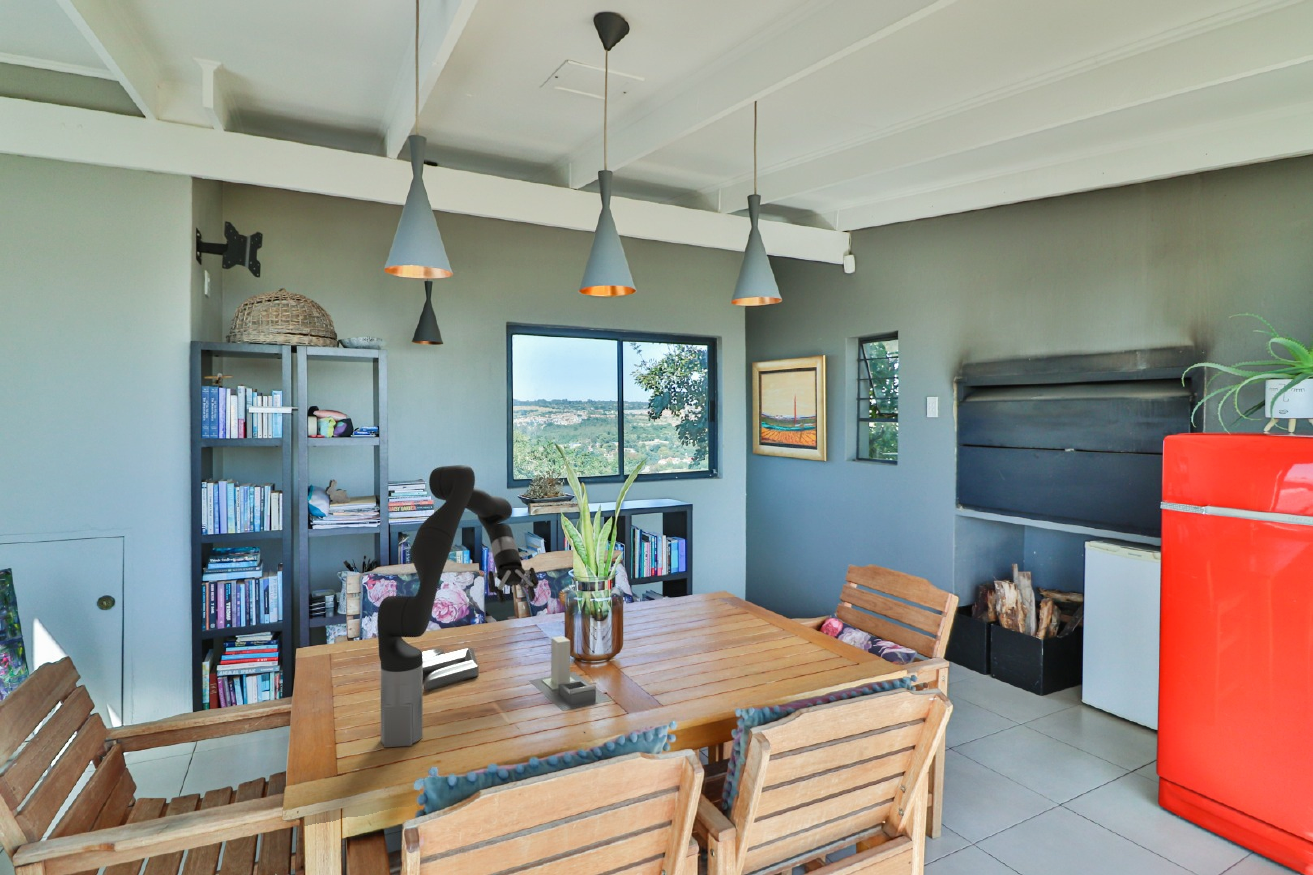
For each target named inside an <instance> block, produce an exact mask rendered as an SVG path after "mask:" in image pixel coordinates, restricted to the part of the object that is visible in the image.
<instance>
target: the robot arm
mask: <svg viewBox="0 0 1313 875" xmlns="http://www.w3.org/2000/svg"><path fill="white" fill-rule="evenodd" d="M428 479H429V480H428V484H429V485H428V486H429V490H430V493H432V496H433V497H435V498H436V499H437V500H441V501H445V502H444V503H443V504H442V505H441V506H440V507H439V508H438V509H436V510H435V511H434V512H433V513H432V514H431V515H430V516H428V518H426V519H425V520H424V521H423V522H422V524H420V526H419V527H418V530H417V532H416V535H415V538H414V539H413V542H412V544H411V548H410V549H411V550H410V555H411V560H412V563H413V566H414V569H415V571H416V573H417V577H418V580H419V586H418V590H417V592H416V594H415V595H414V596H413V595H405V596H404V595H388V596H386V597H384V598H383V599H382V600H381V601H380V604H379V605H378V606H379V607H378V610H377V618H376V620H377V623H376V624H377V639H378V641H377V642H378V656H379V657H378V658H379V661H380V742H381V744H383V748H393V747H394V748H396V747H412V746H413V744H414V743H417V742H418V741H420V740H421V739H422V738H423V734H424V733H423V731H424V730H423V728H424V727H423V726H424V724H423V723H424V722H423V721H424V719H423V717H424V716H423V710H424V709H423V702H424V700H423V696H424V695H423V693H424V692H423V690H424V681H423V655H422V652H423V651H422V650H421V649H419V648H418V647H415V646H413V645H411V644H409V643H408V642H407V641H406V640H405V639H403V638H420V637H422V636H423V635H424V634H425V632H427V629H428V626H429V623H430V621H431V616H432V612H433V608H434V605H435V600H436V597H437V591H438V588H439V584H440V580H441V577H442V576H443V572H444V568H445V566H446V563H447V560H448V558H449V555H450V552H451V549H452V546H453V543H454V540H455V537H456V533H457V530H458V528H459V524H460V522H461V519H462V517H463V514H464V513H465V511H466V509H467V510H468V511H470V512H472V513H473V514H475V515H476V516H477V518H478V521H479V522H480V524H481V525H482V526H483V528H484V530H485V531H486V534H487V536H488V538H489V541H490V546H491V554H492V559H493V561H494V562H493V563H494V566H495V571H496V572H493V571H492V570H489V571H488V573H487V576H486V579H487V584H488V585H487V586H488V590H489V591H488V592H489V593H490V594H493V593H495V594H496V595H497V600H498V602H499V603H500V604H501V605H505V604H506V597H505V593H504V587H505V586H507V587H511V586H520V587H522V588H524V589H525V590H526V591H527V596H528V598H529V602H534V601H535V598H536V591H535V589H537V588H538V585H539V584H540V581H539V579H538V576H537V574H536V571H535V568H534V567H530V568H529V569H524V567H523V564H522V560H521V556H520V553H519V550H518V546H517V543H516V541H515V538H514V535H513V530H512V528H511V526H510V525H509V524H508V523H504V522H505V521H507V520H509V519H510V518H511V516H512V514H513V507H512V505H511V503H510V502H509V501H508V500H507V499H506V498H504V497H502V496H497V495H490V494H489V493H487V492H486V491H485V490H483V489H481V488H477V487H475V485H476V484H475V483H476V476H475V472H474V469H473V468H472V467H470V466H468V465H465V464H464V465H462V464H458V465H455V464H454V465H443V466H439V467H435V468H434V469H432V471H431V472H430V474H429V477H428ZM496 578H497V579H498V580H499V581H500V583H499V584H498V586H496V583H495V580H496Z"/></svg>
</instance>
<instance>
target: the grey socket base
mask: <svg viewBox="0 0 1313 875" xmlns="http://www.w3.org/2000/svg"><path fill="white" fill-rule="evenodd" d="M528 682H529V683H531V684H532V685H533V686H534V687H536V689H537V690H538V691H540V692H541V693H542V694H543V695H544V696H545V697H546V698H548V700H550V701H551V702H552V703H553V704H554V705H556V707H557V708H559V710H561V711H562V712H566V711H569V710H570V711H571V710H574V709H578V708H583V707H584V708H585V707H588V706H593V705H597V704H601V703H607V702H611V701H613V699H612V698H610V697H609V696H607V695H606V694H605V693H604V692H602V691H600V690H599V689H598V688H597V685H596V684H592V683H590V682H589V681H587V679H585V678H583V676H581V675H580V674H578V673H577V672H575V671H572V672H570V682H567V683H562V684H558V685H556V684H555V683H554V682H553V681H551V675H550V676H546V677H542V678H541V677H540V678H535V679H530V680H529V681H528Z"/></svg>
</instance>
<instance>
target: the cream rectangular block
mask: <svg viewBox="0 0 1313 875" xmlns="http://www.w3.org/2000/svg"><path fill="white" fill-rule="evenodd" d="M550 642H551V644H550V645H551V646H550V648H551V649H550V650H551V651H550V652H551V654H550V655H551V657H550V658H551V659H550V663H551V664H550V676H551V681H553V682H554V683H555V684H556V685H558V684H562V683H567V682H570V673H571V640H570V639H569V638H567V637H565V636H564V635H561V636H560V635H559V636H555V637H554V636H553V637H551V639H550Z"/></svg>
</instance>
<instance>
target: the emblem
mask: <svg viewBox="0 0 1313 875" xmlns="http://www.w3.org/2000/svg"><path fill="white" fill-rule="evenodd" d="M421 652H422V655H423V690H426V691H432V690H435V689H439V688H441V687H445V686H449V685H452V684H454V683H458V682H462V681H465V680H469V679H473V678H475V677H479V670H480V669H479V664H478V661H477V658H476V655H475V651H474V648H473V647H466V648H463V649H458V650H454V651H448V652H446V653H444V649H442V648H432V649H428V650H424V651H421Z"/></svg>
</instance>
